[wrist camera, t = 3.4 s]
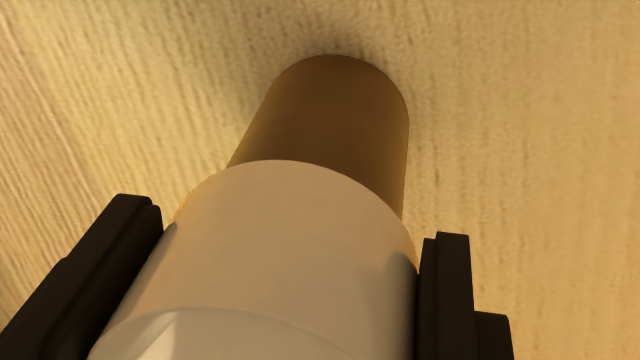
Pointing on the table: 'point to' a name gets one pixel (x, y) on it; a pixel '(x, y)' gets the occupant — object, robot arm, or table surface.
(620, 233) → the table surface
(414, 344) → the beige short cylinder
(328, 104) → the stand
